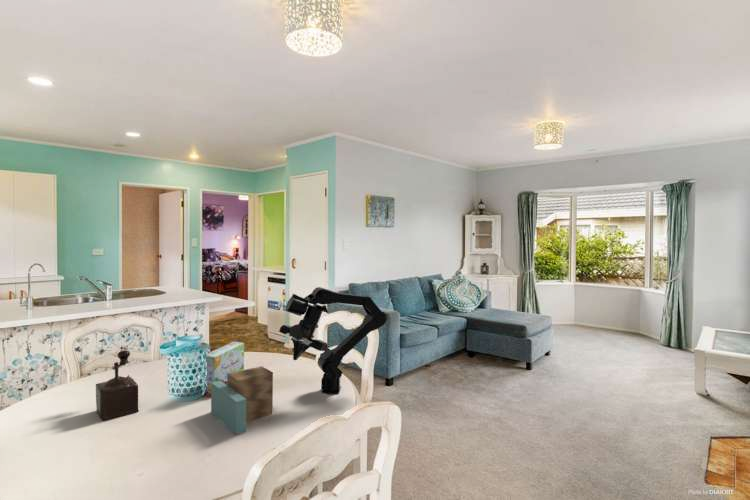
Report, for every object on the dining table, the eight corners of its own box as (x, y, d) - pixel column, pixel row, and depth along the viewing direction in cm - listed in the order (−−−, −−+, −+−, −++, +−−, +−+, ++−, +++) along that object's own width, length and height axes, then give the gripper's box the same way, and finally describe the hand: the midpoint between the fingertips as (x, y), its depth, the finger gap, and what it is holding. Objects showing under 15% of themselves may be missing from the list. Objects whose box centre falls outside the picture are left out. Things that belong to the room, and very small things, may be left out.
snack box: (214, 397, 148) (214, 356, 147) (200, 396, 149) (200, 355, 148) (244, 378, 169) (244, 341, 168) (232, 376, 170) (232, 340, 169)
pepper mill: (141, 411, 135) (141, 358, 135) (101, 421, 128) (101, 365, 127) (129, 397, 146) (129, 347, 146) (92, 406, 139) (91, 353, 138)
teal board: (220, 409, 138) (220, 380, 138) (246, 431, 123) (246, 399, 123) (211, 412, 136) (211, 382, 136) (236, 434, 121) (236, 401, 121)
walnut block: (261, 406, 142) (261, 366, 141) (272, 413, 136) (272, 372, 135) (227, 415, 134) (227, 373, 133) (237, 424, 128) (237, 380, 127)
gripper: (279, 308, 148) (262, 349, 147) (322, 327, 141) (304, 371, 140) (294, 311, 159) (279, 350, 157) (335, 329, 152) (319, 370, 150)
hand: (294, 359), depth 151 cm, fingers closed
